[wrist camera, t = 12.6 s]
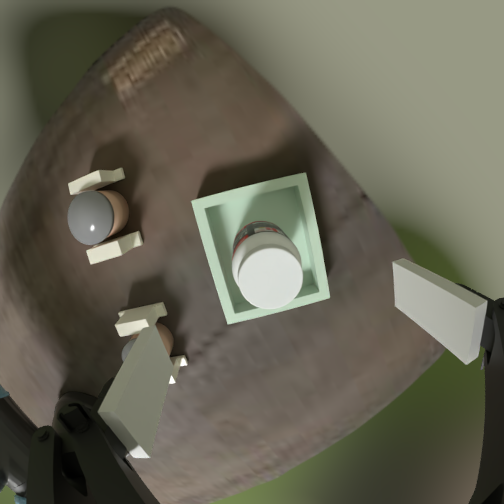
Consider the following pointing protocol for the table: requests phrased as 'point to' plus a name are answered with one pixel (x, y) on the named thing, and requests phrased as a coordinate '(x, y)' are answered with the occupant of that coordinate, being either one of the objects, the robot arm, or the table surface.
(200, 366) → the table surface
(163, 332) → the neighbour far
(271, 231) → the pill bottle
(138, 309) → the cream flat pieces
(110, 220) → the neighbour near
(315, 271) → the tray
